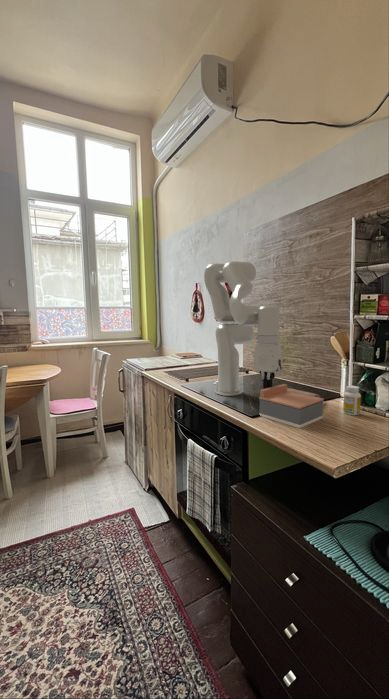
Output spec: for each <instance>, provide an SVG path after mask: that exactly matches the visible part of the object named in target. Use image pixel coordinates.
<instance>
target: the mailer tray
mask: <svg viewBox="0 0 389 699" xmlns="http://www.w3.org/2000/svg"><path fill="white" fill-rule="evenodd" d="M323 401H324V400H323ZM323 401H320V402H318V403H315V404H312V405H309V406H306V407H304V408H301V409H298V408H294V407H290V406H286V405H282V404H278V403H274V402H270V401H267V400H263V399H259V409H258V410H259V413H258V414H259V415H260V416H259V415H258V416H259V417H262V418H266V419H269V420H272V421H275V422H277V423H278V422H279V423H282V424H285V425H289V426H291V427H295V428H299V429H301V428H304V427H306V426H308V425H310V424H313V423H315V422H317V421H320V420H323V415H324V414H323V412H324V411H323V410H324V405H323Z"/></svg>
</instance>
